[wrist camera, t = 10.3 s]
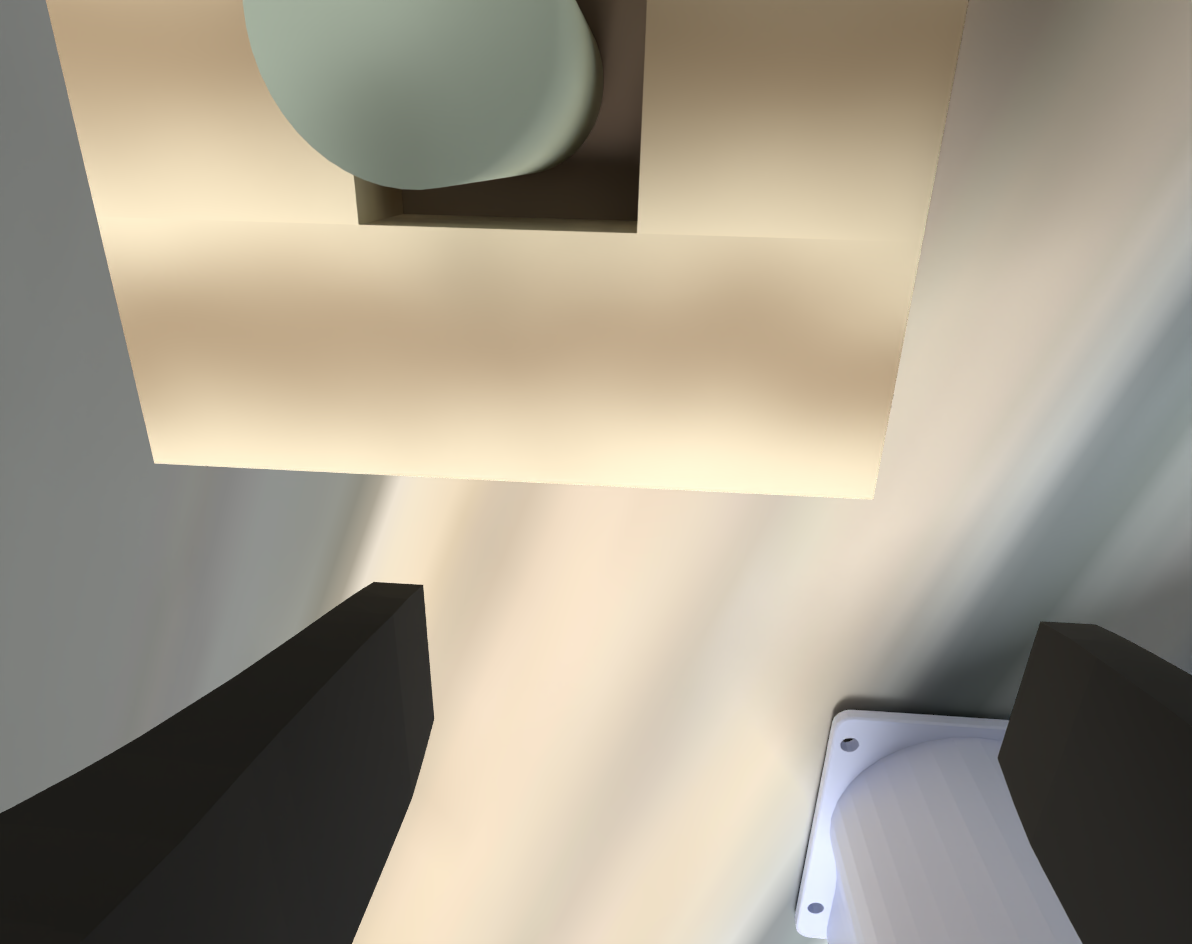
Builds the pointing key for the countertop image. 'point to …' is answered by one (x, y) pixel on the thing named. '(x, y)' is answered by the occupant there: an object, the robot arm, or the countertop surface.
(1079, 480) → the countertop surface
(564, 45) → the pin
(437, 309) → the pocket block
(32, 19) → the countertop surface
